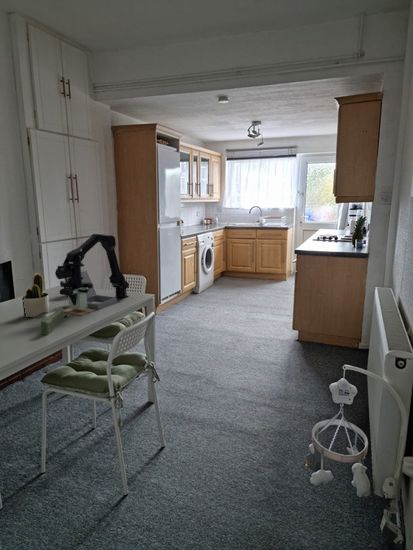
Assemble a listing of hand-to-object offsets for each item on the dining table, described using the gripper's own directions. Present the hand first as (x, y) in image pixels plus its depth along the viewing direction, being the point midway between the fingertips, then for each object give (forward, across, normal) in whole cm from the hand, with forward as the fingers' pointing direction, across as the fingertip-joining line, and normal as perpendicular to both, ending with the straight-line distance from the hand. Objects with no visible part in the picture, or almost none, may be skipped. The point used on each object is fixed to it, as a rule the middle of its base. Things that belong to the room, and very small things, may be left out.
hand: (78, 303), depth 199 cm
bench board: (+4, 0, 0) cm, 4 cm away
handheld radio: (+5, +22, +7) cm, 23 cm away
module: (+2, 0, 0) cm, 2 cm away
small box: (+4, +14, -17) cm, 22 cm away
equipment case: (+4, -14, -3) cm, 15 cm away
